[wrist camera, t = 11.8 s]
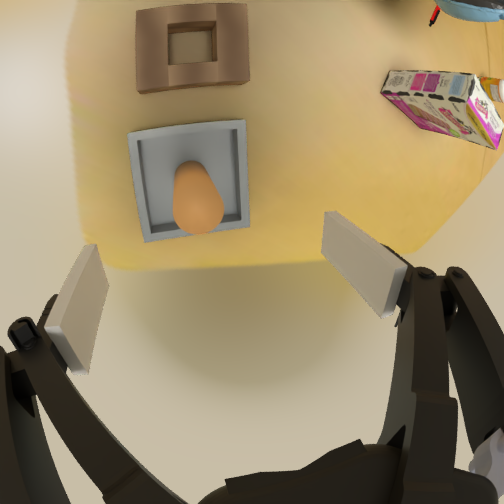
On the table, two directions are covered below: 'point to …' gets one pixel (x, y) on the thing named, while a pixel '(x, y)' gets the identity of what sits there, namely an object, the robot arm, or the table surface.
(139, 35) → the hitch block
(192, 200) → the pin
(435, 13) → the pen
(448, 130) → the candy bar box
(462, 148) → the table surface
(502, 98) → the supplement bottle
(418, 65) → the table surface
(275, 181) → the table surface
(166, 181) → the tray
